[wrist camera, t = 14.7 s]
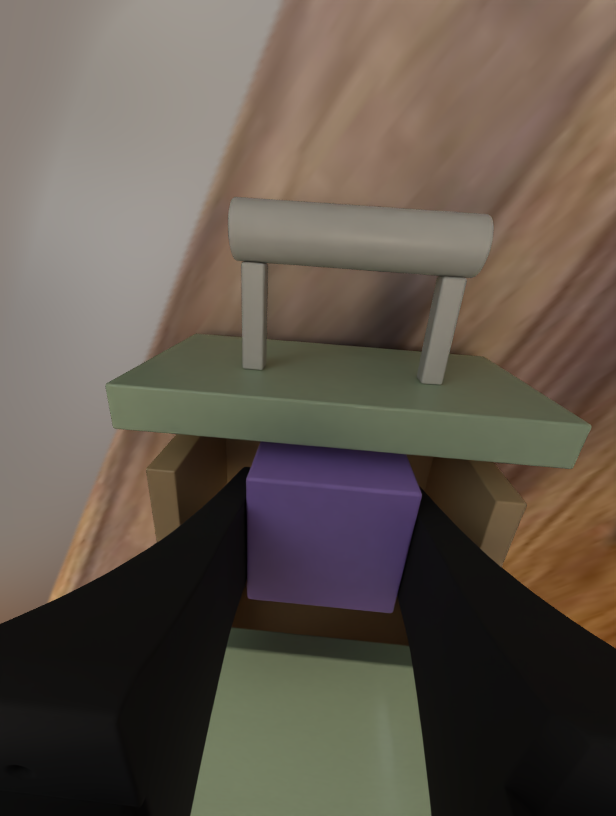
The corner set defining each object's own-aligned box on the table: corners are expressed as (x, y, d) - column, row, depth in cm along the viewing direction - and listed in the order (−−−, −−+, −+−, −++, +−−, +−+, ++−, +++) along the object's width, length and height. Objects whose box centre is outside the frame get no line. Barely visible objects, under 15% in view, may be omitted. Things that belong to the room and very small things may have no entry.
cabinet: (199, 485, 17) (112, 636, 10) (446, 508, 17) (525, 680, 10) (212, 650, 23) (160, 822, 16) (398, 670, 22) (429, 855, 15)
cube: (396, 425, 11) (424, 494, 8) (377, 524, 13) (393, 615, 10) (269, 414, 11) (245, 478, 8) (267, 514, 13) (246, 600, 10)
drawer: (186, 209, 12) (63, 168, 6) (519, 233, 11) (691, 210, 6) (210, 564, 18) (160, 691, 13) (420, 584, 18) (458, 724, 13)
